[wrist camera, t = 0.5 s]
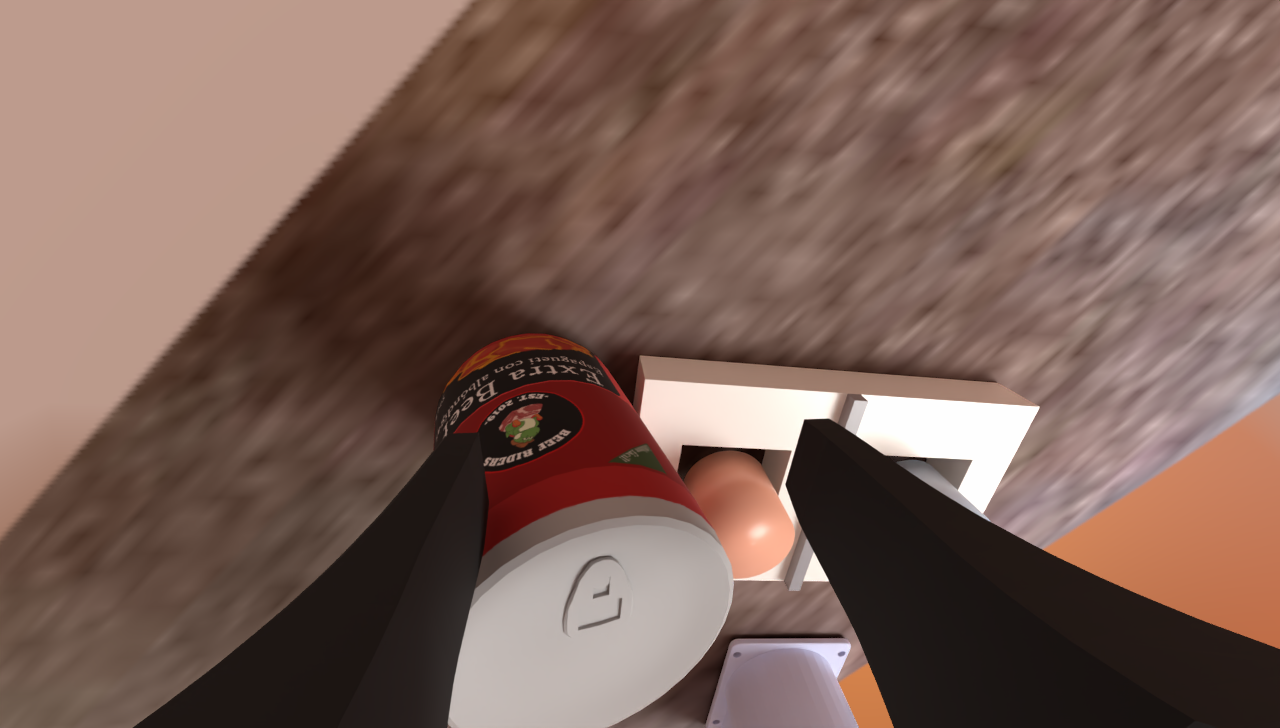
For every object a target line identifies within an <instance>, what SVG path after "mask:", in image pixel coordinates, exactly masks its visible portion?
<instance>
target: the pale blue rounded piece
mask: <svg viewBox="0 0 1280 728" xmlns="http://www.w3.org/2000/svg"><path fill="white" fill-rule="evenodd" d="M896 463H897V464H898V465H900V466H901V467H903V468H904V469H906V470H907V471H909V472H910V473H912V474H913V475H915V476H916V477H918V478H919V479H921V480H923V481H924V482H926V483H927V484H929V485H930V486H932V487H933V488H935V489H937V490H938V491H940V492H941V493H943V494H944V495H946V496H948V497H949V498H951V499H953V500H954V501H956V502H958V503H959V504H961V505H962V506H964V507H966V508H967V509H969V510H971V511H972V512H974V513H976V514H977V515H979V516H981V517H983V518H984V519H986V520H988V521H990V520H989V519H988V518H987V517H986V516H985V515H984V514H983V513H981V512H980V511H979V510H978V509H977V508H976V507H975V506H974V505H973V504H972V503H971V502H970V501H969V500H968V499H967V498H965V497H964V496H963V495H962V494H961V493H960V492H959V491H958V490H957V489H956V488H955V487H954V486H953V485H952V484H951V483H950V482H948V481H947V480H946V479H945V478H944V477H943V476H942V475H941V474H940V473H939V472H938V471H937V470H936V469H935V468H934V467H932V466H931V465H930V464H928V463H926V462H924V461H920V460H904V461H899V462H896Z"/></svg>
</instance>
